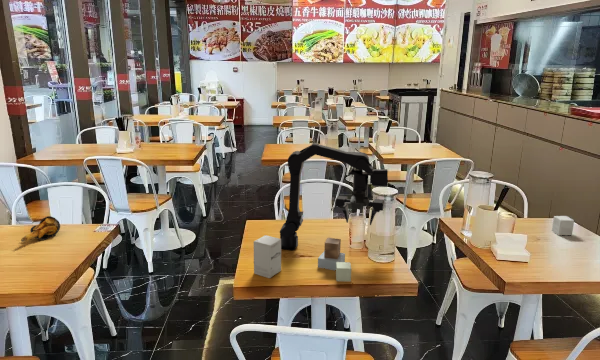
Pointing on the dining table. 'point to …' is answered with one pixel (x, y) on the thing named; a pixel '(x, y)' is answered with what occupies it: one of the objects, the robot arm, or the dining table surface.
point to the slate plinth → (330, 261)
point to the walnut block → (332, 248)
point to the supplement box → (267, 256)
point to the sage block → (343, 271)
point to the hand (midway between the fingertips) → (358, 223)
